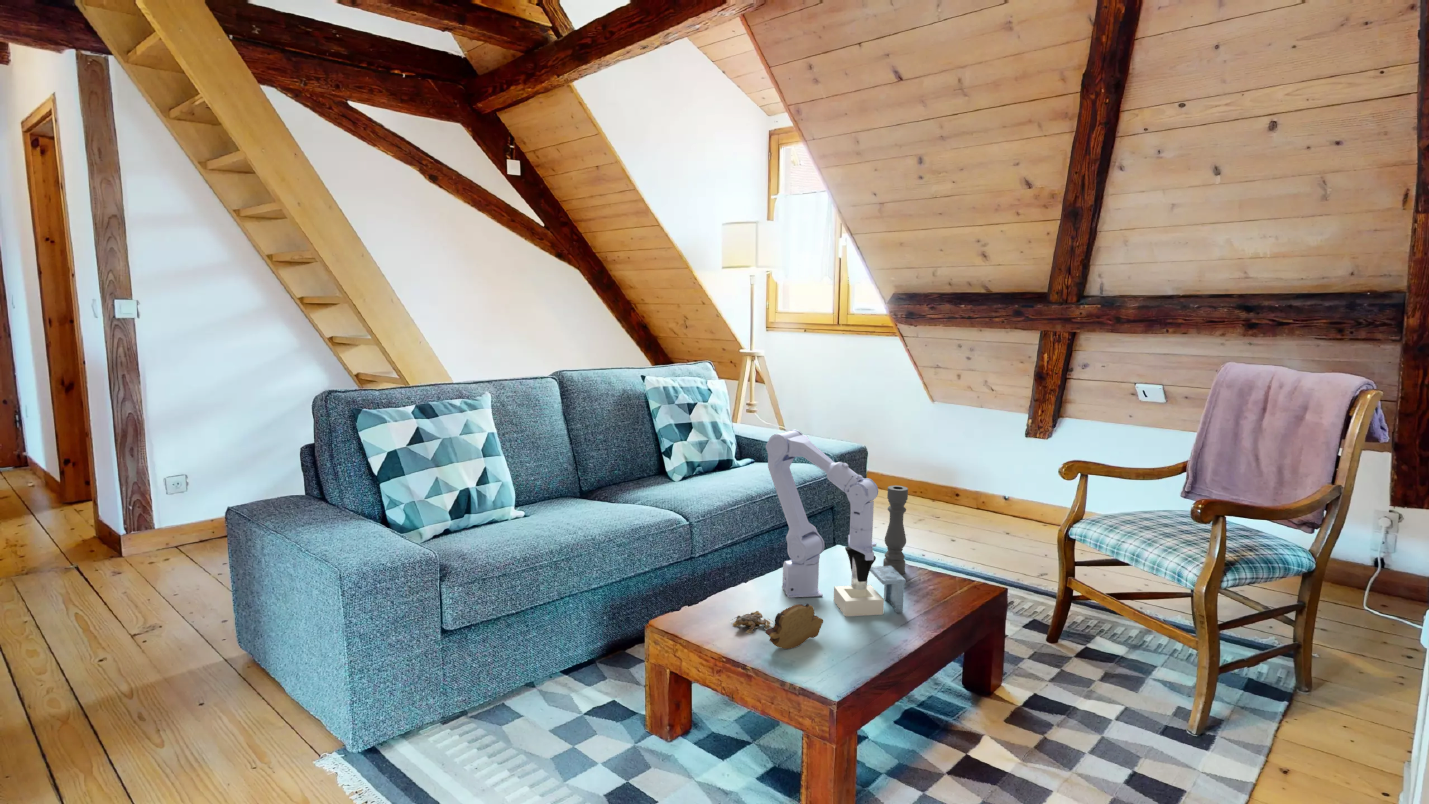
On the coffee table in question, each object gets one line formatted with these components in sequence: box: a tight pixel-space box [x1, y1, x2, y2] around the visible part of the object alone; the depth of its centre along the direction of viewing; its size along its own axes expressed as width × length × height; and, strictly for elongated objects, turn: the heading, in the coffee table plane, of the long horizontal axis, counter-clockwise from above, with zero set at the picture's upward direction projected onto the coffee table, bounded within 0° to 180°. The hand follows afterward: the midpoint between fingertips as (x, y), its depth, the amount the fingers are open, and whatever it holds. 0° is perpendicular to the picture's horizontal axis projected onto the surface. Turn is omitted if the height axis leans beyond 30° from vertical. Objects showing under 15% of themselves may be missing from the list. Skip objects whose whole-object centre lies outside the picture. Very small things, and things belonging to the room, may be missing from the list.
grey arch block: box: [869, 565, 907, 614], centre depth 209 cm, size 6×10×9 cm, turn 9°
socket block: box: [833, 584, 885, 617], centre depth 209 cm, size 10×10×4 cm
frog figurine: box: [729, 610, 775, 635], centre depth 197 cm, size 12×12×4 cm
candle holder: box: [882, 485, 909, 576], centre depth 233 cm, size 6×6×25 cm
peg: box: [850, 558, 868, 590], centre depth 208 cm, size 4×4×8 cm
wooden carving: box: [764, 603, 824, 650], centre depth 186 cm, size 16×5×10 cm, turn 131°
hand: (859, 577), depth 208 cm, fingers closed on peg, 4 cm apart
